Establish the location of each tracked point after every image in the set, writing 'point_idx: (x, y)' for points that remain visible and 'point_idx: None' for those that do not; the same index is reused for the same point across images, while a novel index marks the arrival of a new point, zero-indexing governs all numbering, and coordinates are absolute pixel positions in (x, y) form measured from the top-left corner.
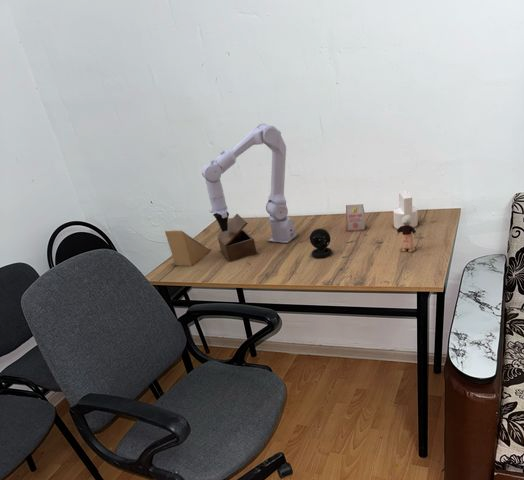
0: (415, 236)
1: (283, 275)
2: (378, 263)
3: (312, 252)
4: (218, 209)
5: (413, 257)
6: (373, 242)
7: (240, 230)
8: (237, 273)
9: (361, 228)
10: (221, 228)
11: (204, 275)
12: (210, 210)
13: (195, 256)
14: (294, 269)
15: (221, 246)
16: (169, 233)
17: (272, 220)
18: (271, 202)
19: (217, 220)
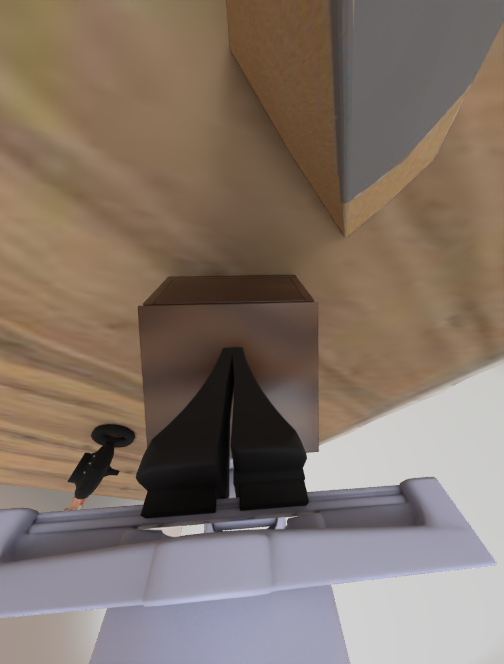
0: (64, 510)
1: (6, 372)
2: (48, 462)
3: (110, 431)
4: (99, 637)
5: (61, 480)
6: (133, 469)
7: (147, 412)
8: (39, 275)
9: None
10: (217, 361)
11: (37, 103)
12: (222, 597)
13: (271, 100)
14: (44, 394)
15: (263, 286)
16: None
17: (230, 458)
18: (261, 522)
19: (208, 409)
